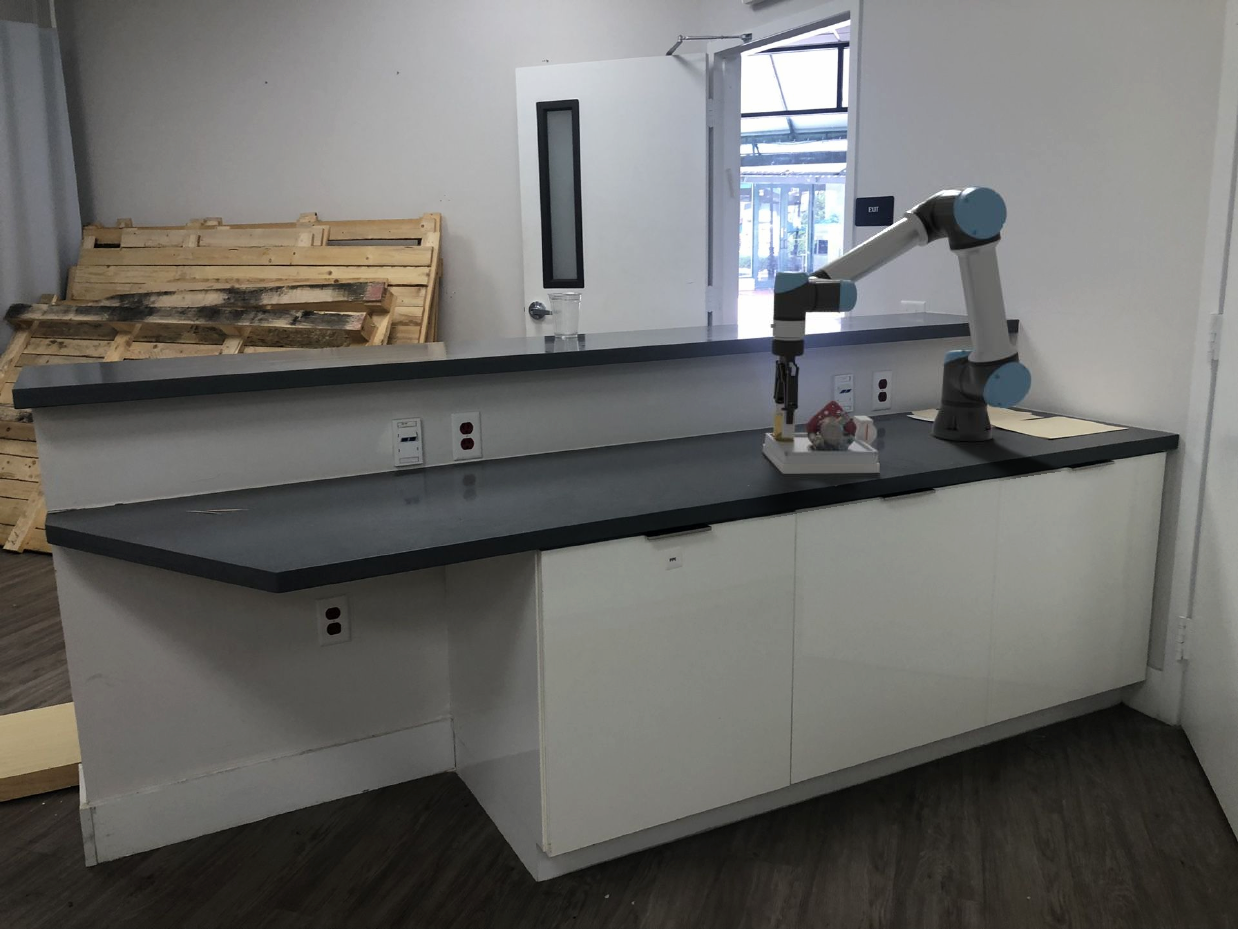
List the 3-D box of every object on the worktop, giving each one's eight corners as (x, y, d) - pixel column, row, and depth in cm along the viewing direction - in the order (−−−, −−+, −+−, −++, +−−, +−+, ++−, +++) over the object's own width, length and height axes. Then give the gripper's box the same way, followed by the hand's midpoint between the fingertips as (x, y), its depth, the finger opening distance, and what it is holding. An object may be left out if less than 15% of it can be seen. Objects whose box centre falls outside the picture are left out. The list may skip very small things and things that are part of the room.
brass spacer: (771, 437, 235) (772, 413, 234) (791, 437, 235) (792, 412, 234) (775, 442, 230) (776, 416, 229) (796, 441, 230) (797, 416, 229)
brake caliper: (853, 432, 229) (858, 398, 220) (854, 468, 222) (859, 434, 213) (805, 431, 231) (807, 396, 221) (804, 466, 224) (807, 432, 215)
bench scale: (866, 451, 239) (868, 415, 237) (896, 472, 218) (899, 433, 216) (762, 451, 238) (764, 415, 236) (782, 473, 216) (784, 434, 214)
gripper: (763, 333, 237) (760, 425, 242) (782, 343, 217) (777, 442, 222) (793, 333, 237) (789, 425, 242) (815, 343, 217) (809, 442, 223)
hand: (783, 433), depth 232 cm, fingers open, 7 cm apart
